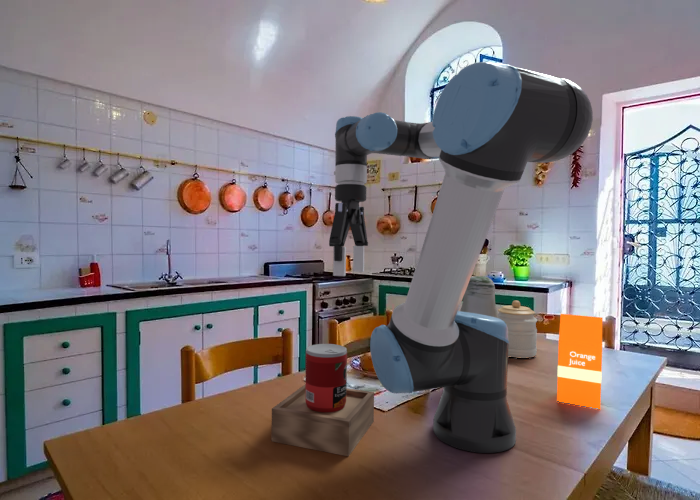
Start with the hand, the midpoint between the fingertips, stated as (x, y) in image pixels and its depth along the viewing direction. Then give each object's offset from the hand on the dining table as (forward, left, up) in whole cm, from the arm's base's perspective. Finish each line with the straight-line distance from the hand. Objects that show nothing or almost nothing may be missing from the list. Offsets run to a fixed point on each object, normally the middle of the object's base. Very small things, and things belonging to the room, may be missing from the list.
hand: (349, 273), depth 103 cm
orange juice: (-52, -15, -29) cm, 61 cm away
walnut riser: (-3, +21, -29) cm, 36 cm away
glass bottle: (-29, -17, -29) cm, 44 cm away
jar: (-39, -53, -29) cm, 72 cm away
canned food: (-3, +21, -24) cm, 32 cm away
